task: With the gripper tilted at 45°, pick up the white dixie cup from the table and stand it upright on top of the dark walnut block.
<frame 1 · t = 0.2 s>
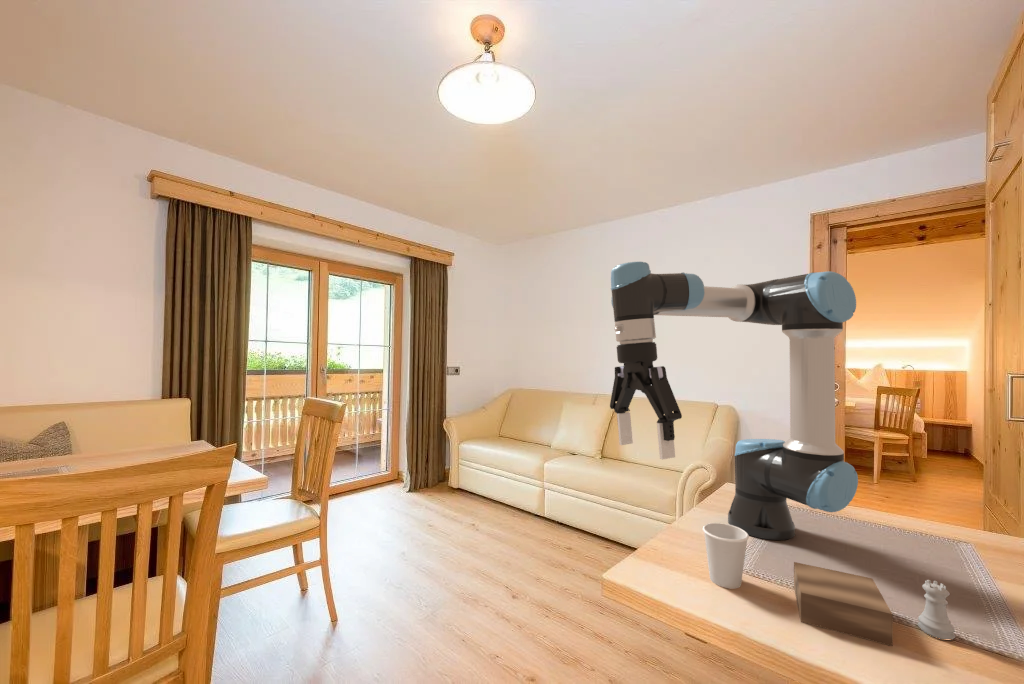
hand: (645, 450, 82), 27 cm above the table, tool pointing down, fingers open, 13 cm apart
dixie cup: (725, 581, 85), on the table
rook chess piece: (936, 633, 70), on the table
walnut block: (837, 613, 75), on the table
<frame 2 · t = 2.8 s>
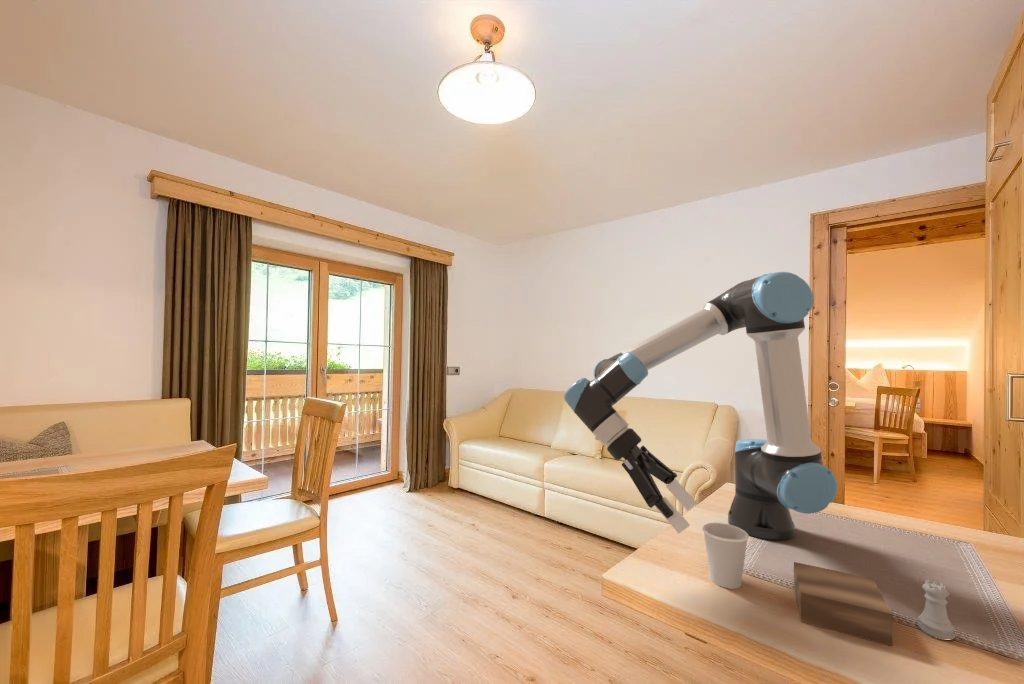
hand: (688, 517, 88), 12 cm above the table, tool tilted 45°, fingers open, 13 cm apart
nothing on the table moved.
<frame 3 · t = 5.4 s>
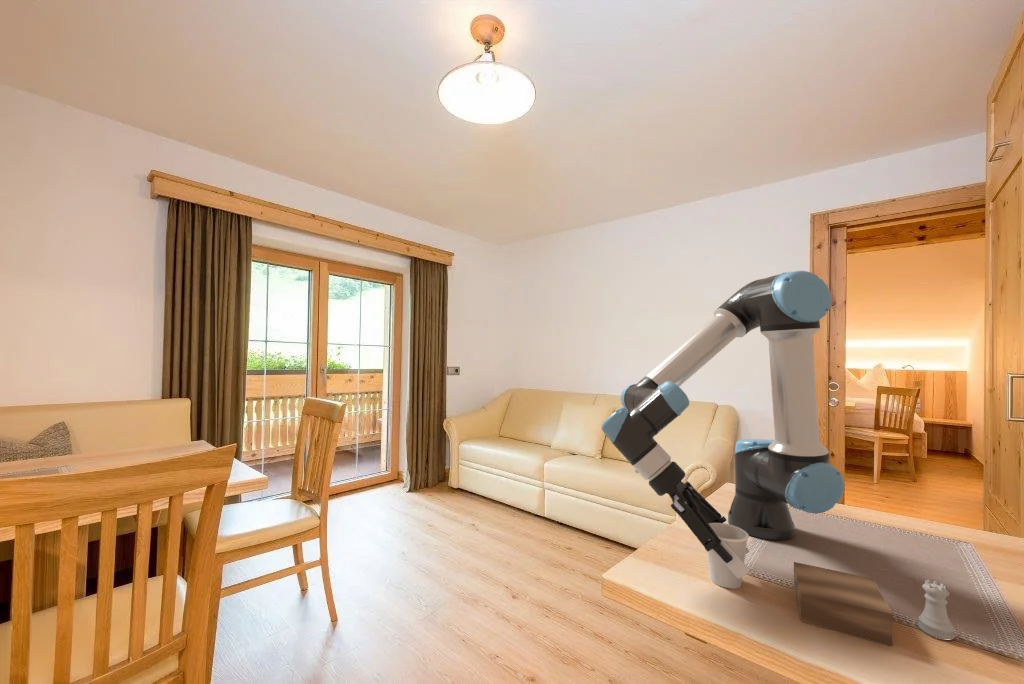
hand: (743, 563, 83), 4 cm above the table, tool tilted 45°, fingers closed on dixie cup, 8 cm apart
dixie cup: (725, 581, 85), on the table, touching gripper
everything else where it was.
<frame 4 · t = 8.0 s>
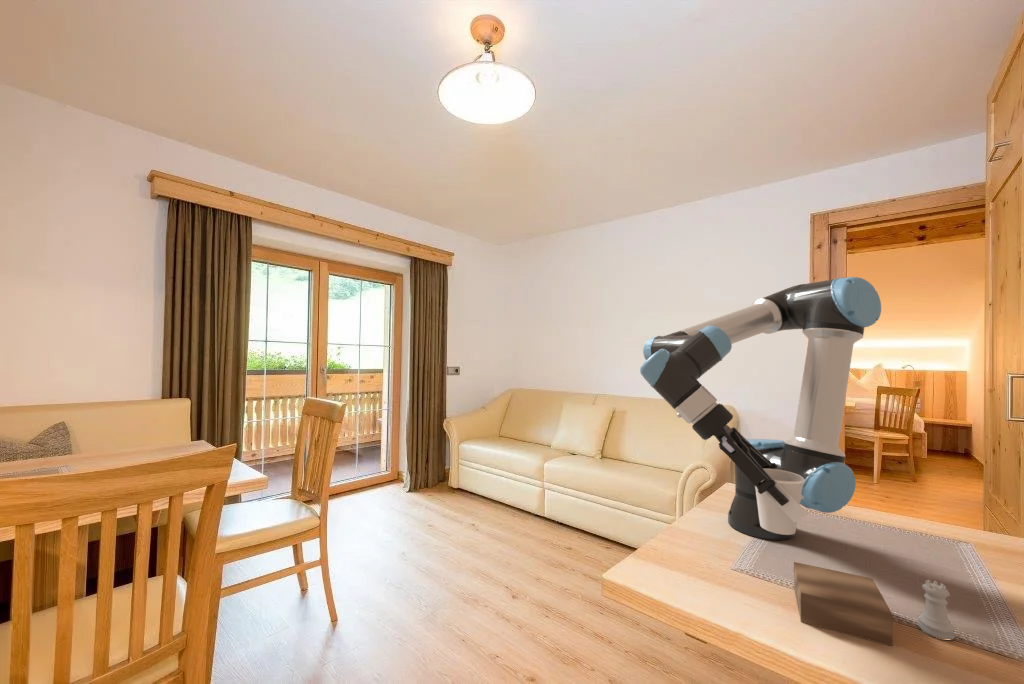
hand: (799, 509, 77), 17 cm above the table, tool tilted 45°, fingers closed on dixie cup, 8 cm apart
dixie cup: (777, 529, 79), point 13 cm above the table, touching gripper
everything else where it was.
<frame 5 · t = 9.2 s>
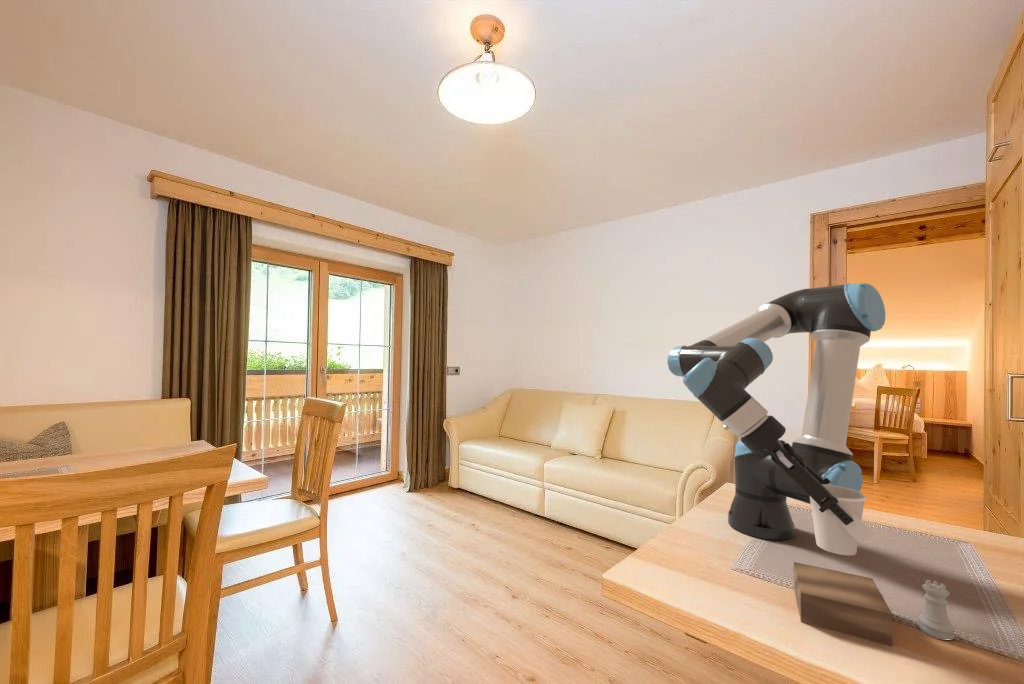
hand: (859, 528, 73), 16 cm above the table, tool tilted 45°, fingers closed on dixie cup, 8 cm apart
dixie cup: (835, 548, 75), point 11 cm above the table, touching gripper
everything else where it was.
when the fingers open (11 cm above the table, at t = 10.5 s): dixie cup drops 1 cm, resting on walnut block.
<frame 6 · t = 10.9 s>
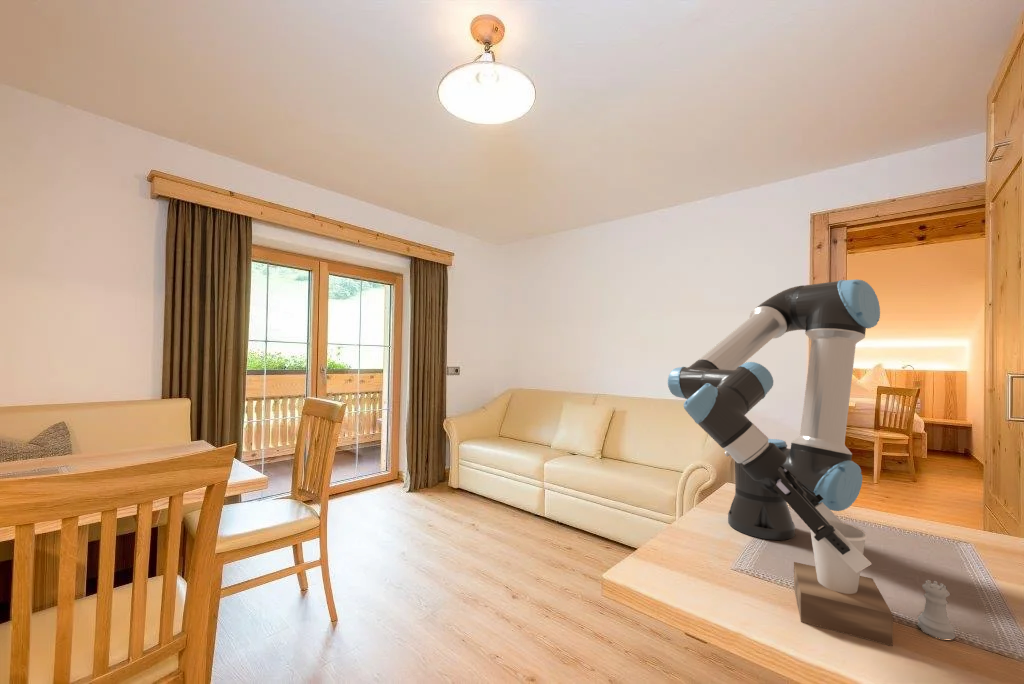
hand: (854, 550, 74), 12 cm above the table, tool tilted 45°, fingers open, 13 cm apart
dixie cup: (837, 585, 75), point 5 cm above the table, touching walnut block
everything else where it was.
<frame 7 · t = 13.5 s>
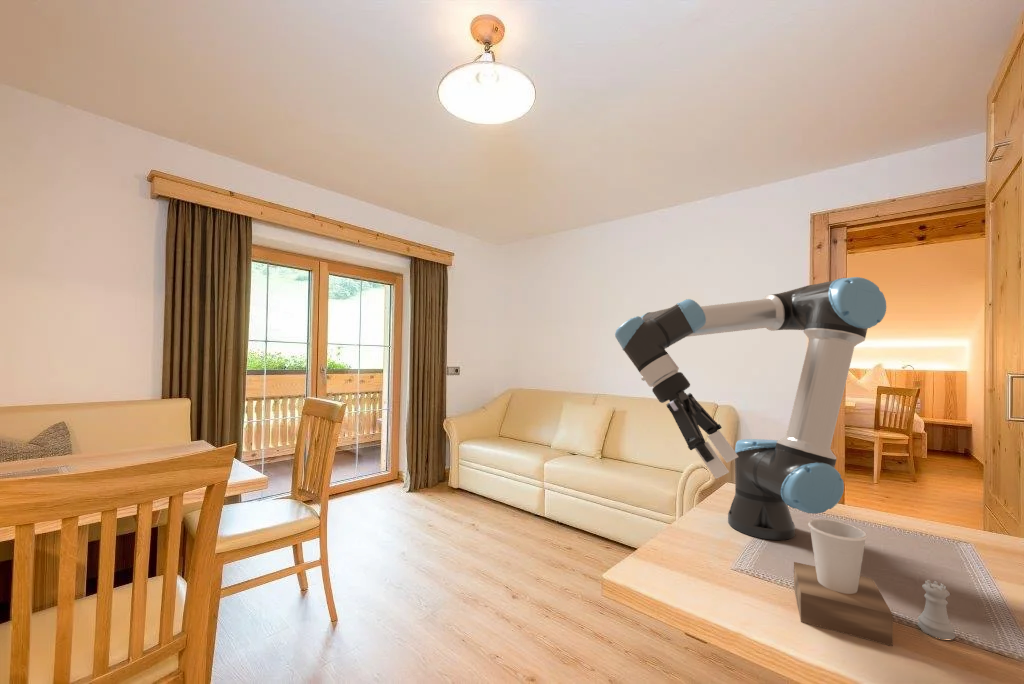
hand: (728, 467, 86), 23 cm above the table, tool tilted 35°, fingers open, 13 cm apart
nothing on the table moved.
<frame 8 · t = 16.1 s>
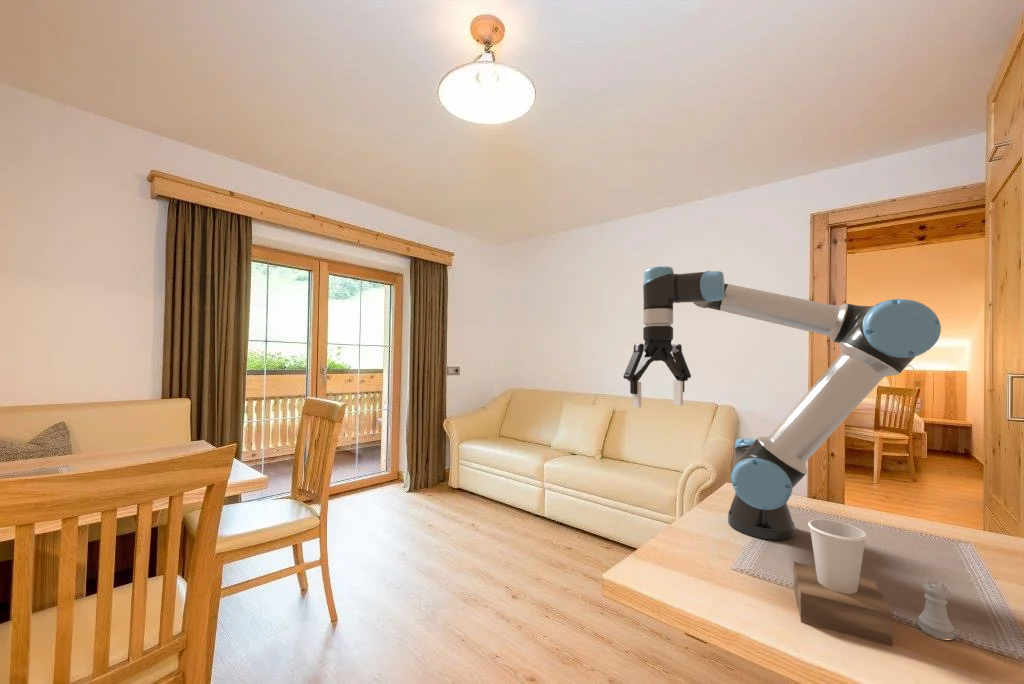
hand: (657, 405, 112), 32 cm above the table, tool pointing down, fingers open, 13 cm apart
nothing on the table moved.
at the end: dixie cup 0.1 cm off-centre on the walnut block, point 4.8 cm above the walnut block's base; dixie cup tilted 0°; the gripper is holding nothing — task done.
